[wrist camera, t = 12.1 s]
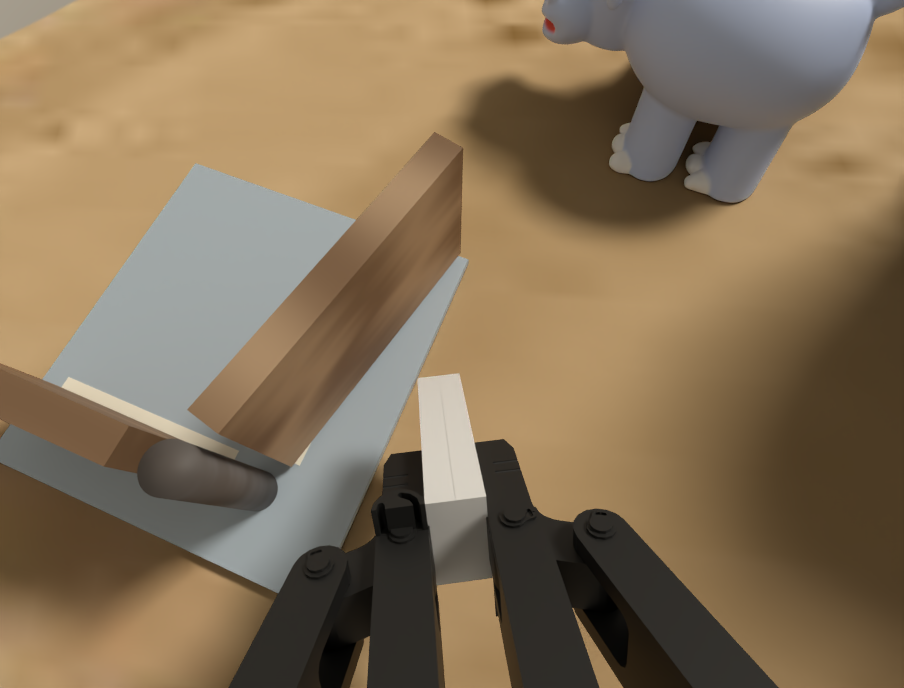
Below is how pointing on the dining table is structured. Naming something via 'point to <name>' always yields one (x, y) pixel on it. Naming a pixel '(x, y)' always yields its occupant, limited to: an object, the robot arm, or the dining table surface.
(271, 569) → the card
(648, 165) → the hippopotamus toy
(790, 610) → the dining table surface
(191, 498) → the fence fixed
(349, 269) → the fence panel
